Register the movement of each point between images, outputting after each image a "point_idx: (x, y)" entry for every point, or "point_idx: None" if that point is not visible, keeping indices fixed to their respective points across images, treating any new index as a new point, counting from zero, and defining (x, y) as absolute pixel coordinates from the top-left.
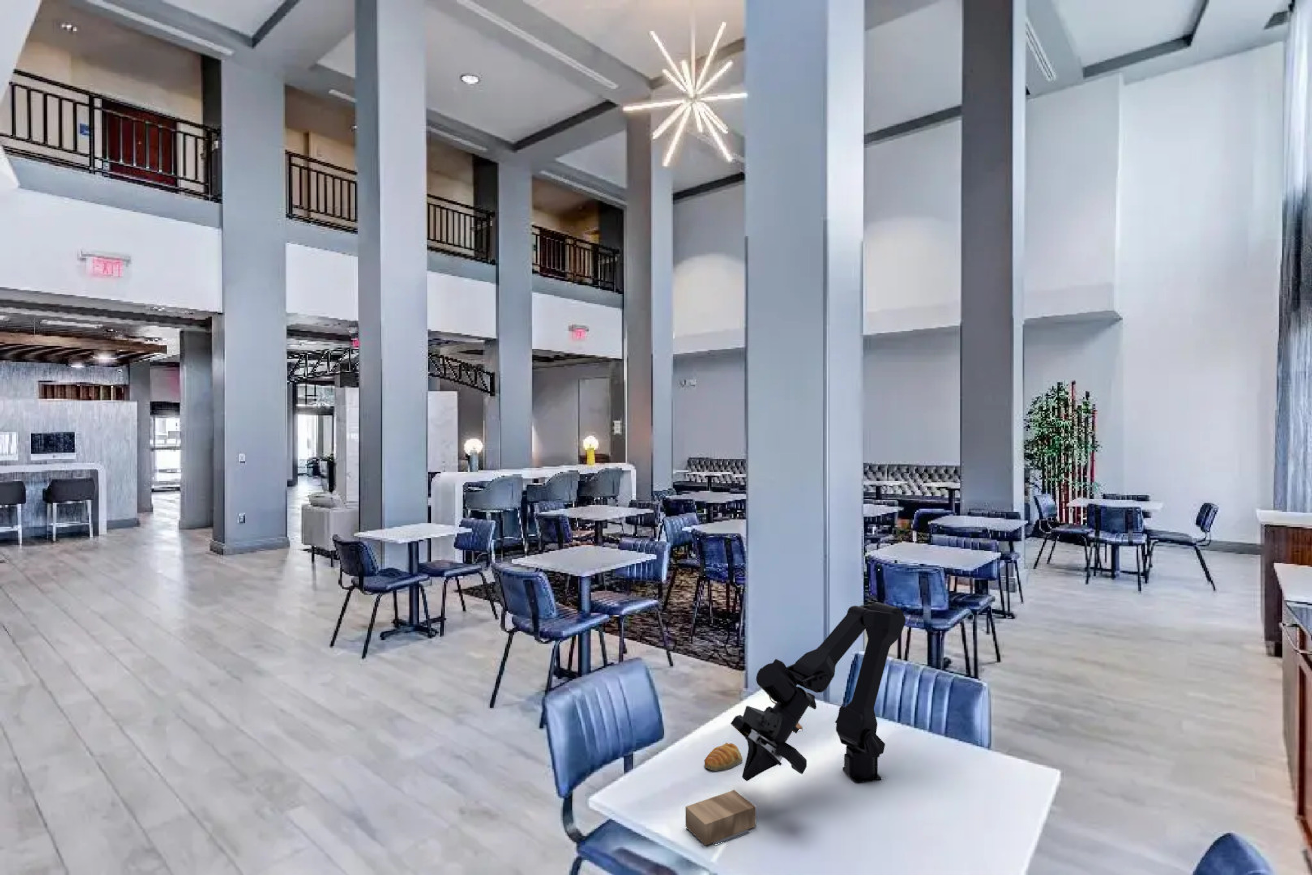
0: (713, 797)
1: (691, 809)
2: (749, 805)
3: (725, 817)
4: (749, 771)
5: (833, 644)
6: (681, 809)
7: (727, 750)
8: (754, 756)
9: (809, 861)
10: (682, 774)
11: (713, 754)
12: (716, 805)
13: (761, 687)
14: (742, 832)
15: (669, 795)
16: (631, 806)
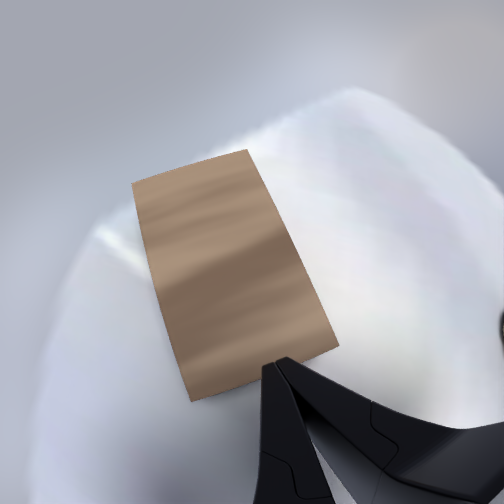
0: (290, 245)
1: (225, 161)
2: (203, 378)
3: (146, 254)
4: (262, 403)
5: None
6: (337, 201)
7: None
8: (367, 476)
9: (40, 462)
10: (483, 243)
11: None
12: (232, 242)
13: None
14: None
15: (399, 190)
16: (348, 114)
